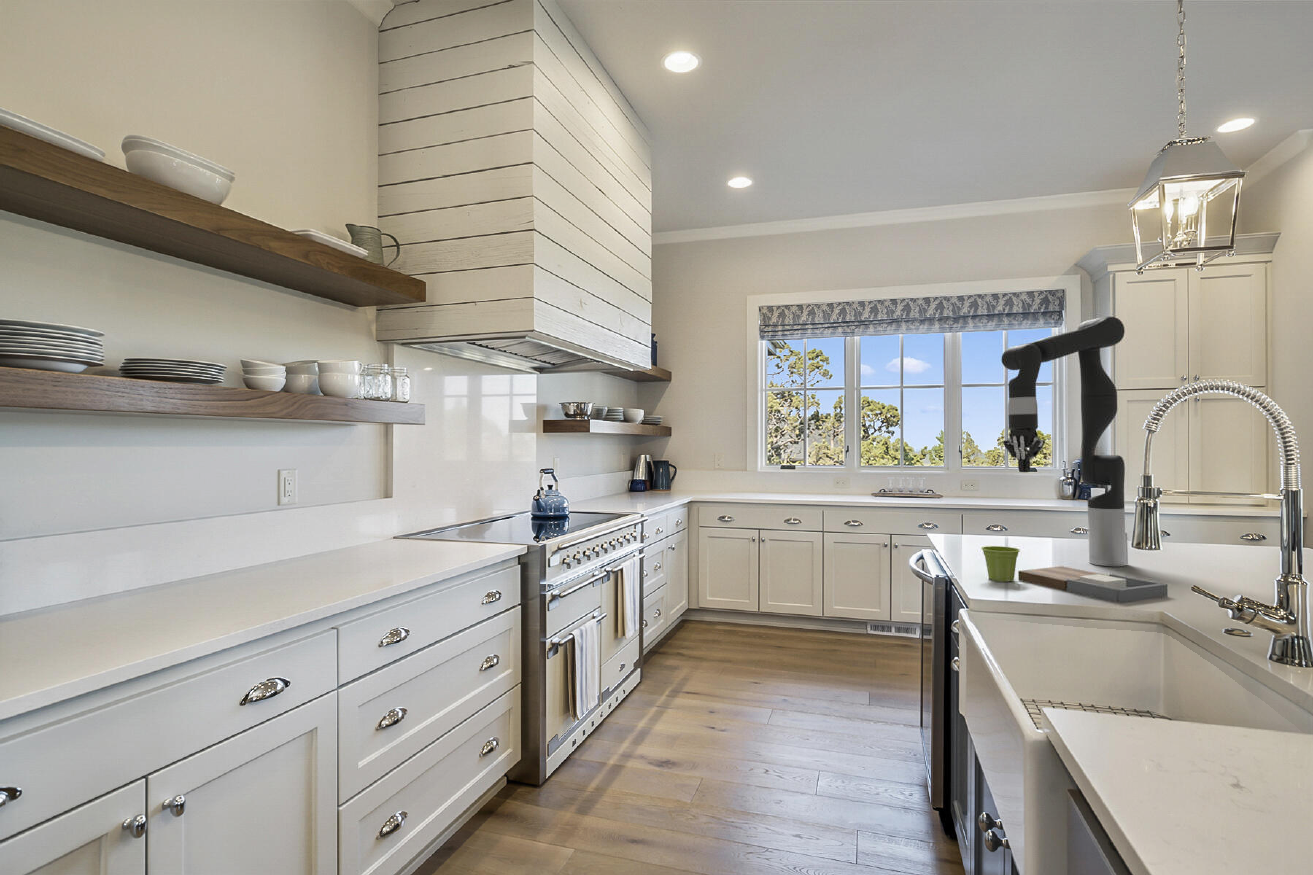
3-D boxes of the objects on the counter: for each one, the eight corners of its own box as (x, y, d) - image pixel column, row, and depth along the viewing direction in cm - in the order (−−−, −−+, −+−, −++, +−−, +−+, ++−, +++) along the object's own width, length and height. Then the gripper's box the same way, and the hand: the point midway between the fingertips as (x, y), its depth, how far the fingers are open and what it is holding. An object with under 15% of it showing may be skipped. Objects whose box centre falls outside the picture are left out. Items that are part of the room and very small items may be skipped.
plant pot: (983, 575, 185) (982, 544, 185) (1021, 578, 180) (1020, 547, 180) (980, 581, 177) (980, 549, 177) (1020, 584, 172) (1019, 552, 172)
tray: (1112, 585, 169) (1111, 573, 169) (1167, 596, 156) (1167, 584, 156) (1066, 590, 164) (1065, 579, 164) (1120, 603, 151) (1119, 590, 151)
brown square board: (1061, 575, 183) (1061, 566, 183) (1110, 584, 170) (1110, 575, 170) (1018, 579, 178) (1018, 570, 178) (1065, 590, 164) (1065, 580, 164)
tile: (1098, 583, 168) (1098, 574, 168) (1126, 589, 161) (1125, 579, 161) (1079, 586, 166) (1079, 576, 166) (1106, 591, 159) (1105, 581, 159)
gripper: (1052, 412, 184) (1054, 472, 184) (1013, 414, 197) (1015, 471, 197) (1032, 412, 182) (1034, 473, 182) (994, 414, 195) (995, 471, 194)
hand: (1024, 472), depth 189 cm, fingers closed
